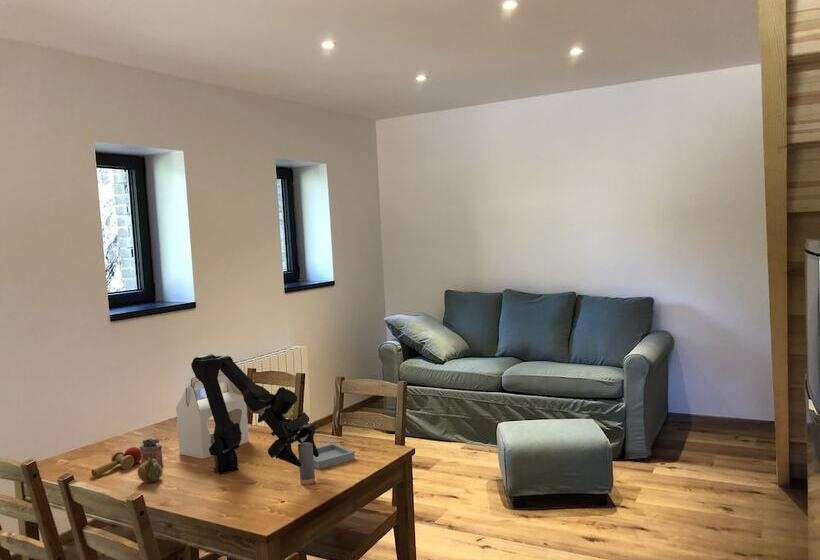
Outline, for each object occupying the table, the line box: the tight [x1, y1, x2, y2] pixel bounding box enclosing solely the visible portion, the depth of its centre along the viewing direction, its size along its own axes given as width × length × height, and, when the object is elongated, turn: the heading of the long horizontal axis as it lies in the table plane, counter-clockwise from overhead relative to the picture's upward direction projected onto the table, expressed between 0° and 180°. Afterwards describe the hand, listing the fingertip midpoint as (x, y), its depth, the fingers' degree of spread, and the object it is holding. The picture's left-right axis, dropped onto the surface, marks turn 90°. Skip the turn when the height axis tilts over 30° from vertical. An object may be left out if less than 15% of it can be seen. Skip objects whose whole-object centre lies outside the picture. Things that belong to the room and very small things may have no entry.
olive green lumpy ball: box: [137, 458, 164, 484], centre depth 218 cm, size 8×8×8 cm
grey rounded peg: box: [297, 442, 316, 486], centre depth 209 cm, size 5×5×12 cm
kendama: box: [91, 446, 141, 479], centre depth 232 cm, size 8×6×18 cm
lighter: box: [139, 437, 164, 469], centre depth 232 cm, size 8×3×10 cm, turn 76°
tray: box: [313, 442, 356, 470], centre depth 230 cm, size 14×14×2 cm
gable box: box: [175, 370, 250, 460], centre depth 249 cm, size 22×13×28 cm, turn 147°
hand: (309, 461), depth 209 cm, fingers open, 9 cm apart
